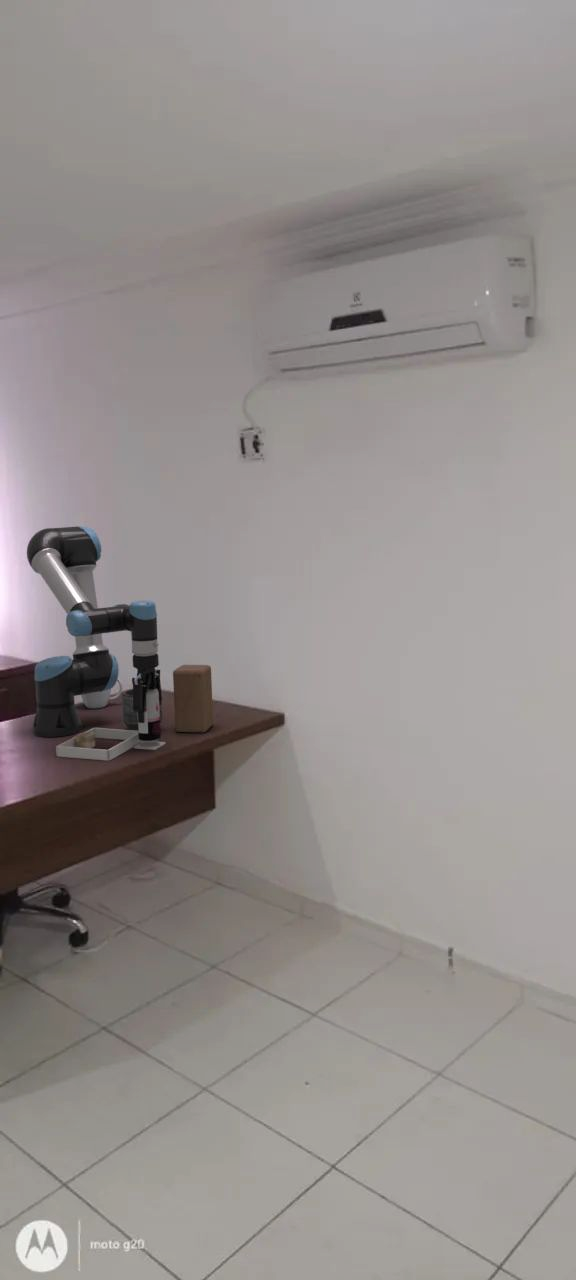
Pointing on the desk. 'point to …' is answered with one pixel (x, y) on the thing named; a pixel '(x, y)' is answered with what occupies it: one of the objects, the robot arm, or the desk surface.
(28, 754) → the desk surface
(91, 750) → the bin
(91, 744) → the beech block
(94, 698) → the mug
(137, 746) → the pad
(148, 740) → the beverage can
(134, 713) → the planter
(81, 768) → the desk surface
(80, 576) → the robot arm
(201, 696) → the wooden block
